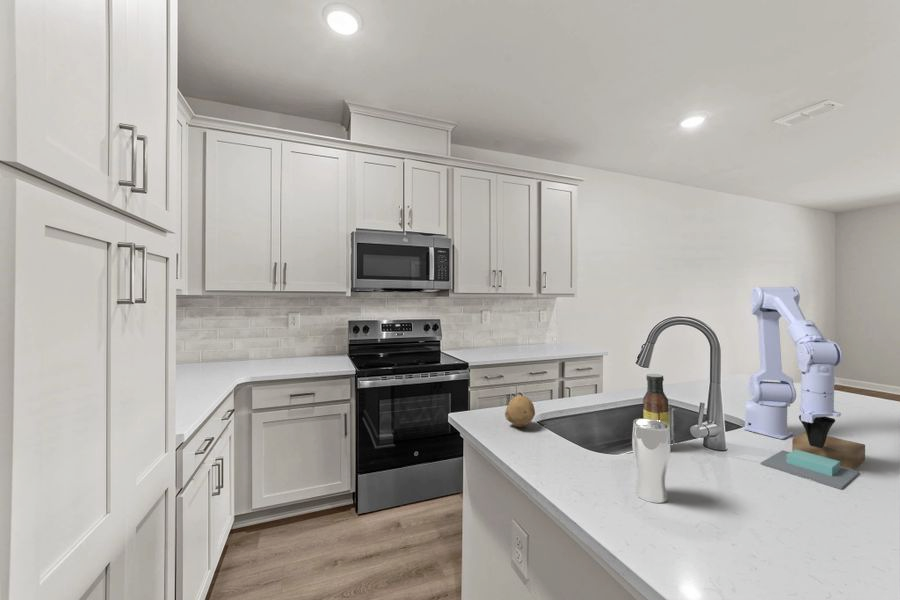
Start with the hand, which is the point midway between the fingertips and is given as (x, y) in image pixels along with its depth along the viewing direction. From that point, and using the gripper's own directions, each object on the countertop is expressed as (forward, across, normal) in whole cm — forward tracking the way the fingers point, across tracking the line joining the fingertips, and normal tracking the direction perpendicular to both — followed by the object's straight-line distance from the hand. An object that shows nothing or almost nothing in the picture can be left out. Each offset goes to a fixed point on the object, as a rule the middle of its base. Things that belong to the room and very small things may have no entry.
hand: (816, 446), depth 91 cm
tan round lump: (+5, -44, +57) cm, 72 cm away
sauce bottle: (+5, -23, +26) cm, 35 cm away
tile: (+2, -2, 0) cm, 3 cm away
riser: (+5, +9, 0) cm, 10 cm away
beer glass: (+5, -48, +13) cm, 50 cm away
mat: (+5, -4, 0) cm, 6 cm away
